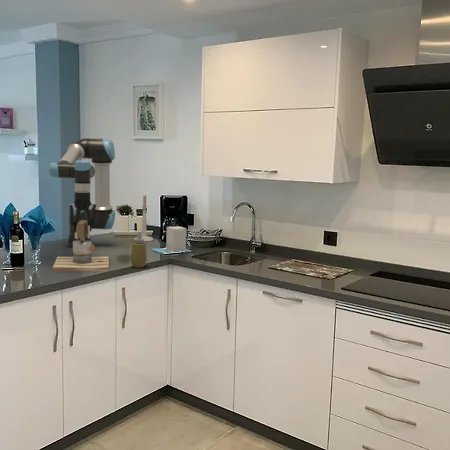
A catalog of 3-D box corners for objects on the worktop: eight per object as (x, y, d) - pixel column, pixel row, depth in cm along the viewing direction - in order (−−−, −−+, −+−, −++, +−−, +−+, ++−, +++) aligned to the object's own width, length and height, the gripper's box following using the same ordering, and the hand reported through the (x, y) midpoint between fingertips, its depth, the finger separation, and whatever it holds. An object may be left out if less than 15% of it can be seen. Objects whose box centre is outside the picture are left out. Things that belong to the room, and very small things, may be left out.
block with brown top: (70, 255, 251) (71, 223, 249) (75, 250, 263) (75, 220, 261) (92, 256, 253) (92, 223, 250) (95, 251, 264) (95, 220, 262)
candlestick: (135, 242, 331) (136, 195, 327) (132, 238, 343) (133, 193, 339) (155, 241, 335) (156, 196, 331) (151, 238, 347) (152, 194, 343)
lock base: (57, 260, 268) (57, 249, 267) (108, 260, 274) (108, 249, 273) (52, 271, 243) (52, 259, 242) (108, 271, 249) (108, 259, 248)
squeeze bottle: (133, 268, 257) (134, 233, 254) (128, 265, 264) (129, 230, 261) (148, 267, 260) (149, 233, 258) (143, 264, 268) (144, 230, 265)
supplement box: (186, 253, 302) (187, 228, 300) (172, 254, 297) (173, 228, 295) (178, 250, 309) (179, 226, 307) (165, 251, 304) (166, 226, 302)
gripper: (66, 192, 245) (66, 240, 248) (103, 192, 256) (102, 238, 259) (61, 191, 251) (61, 238, 255) (97, 191, 262) (97, 235, 265)
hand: (82, 238), depth 257 cm, fingers closed on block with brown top, 5 cm apart
